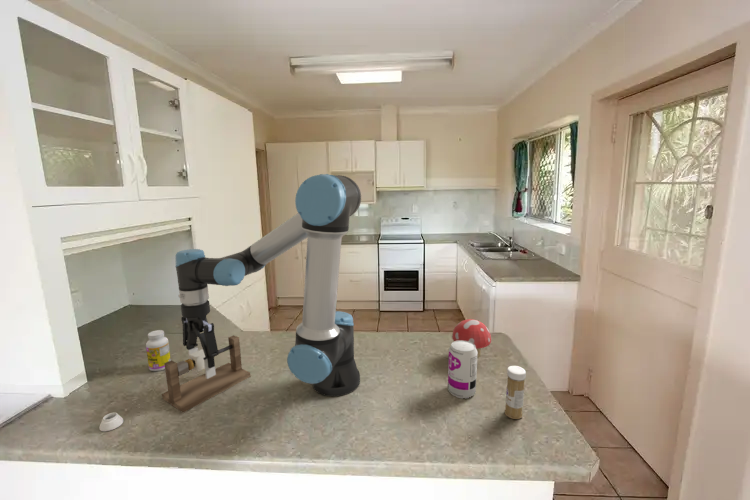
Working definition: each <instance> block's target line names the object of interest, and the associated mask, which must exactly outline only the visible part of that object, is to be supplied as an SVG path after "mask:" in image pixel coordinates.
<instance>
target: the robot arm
mask: <svg viewBox="0 0 750 500" xmlns="http://www.w3.org/2000/svg"><path fill="white" fill-rule="evenodd" d="M361 193H362V192H361V189H360V187H359V185H358V184H357V183H356V181H354V180H353V179H352V178H350V177H348V176H346V175H336V174H329V173H324V174H323V173H321V174H316V175H312V176H309V177H307V178H306V179H305V180H303V182H302V183H301V184H300V185H299V187H298V189H297V192H296V193H295V200H294V201H295V209H296V212H297V213H296V214H294V215H293V216H292V217H290V218H288V219H287V220H286V221H283V222H282V223H281V224H280V225H278V226H277V227H275V228H274V229H273V230H271V231H269V232H267V234H266V235H264V236H262V237H261V238H260V239H258V240H257V241H256V242H254V243H252V244H251V245H250V246H248V247H247V248H245V249H243V250H241V251H238V252H236V253H232V254H229V255H226V256H222V257H219V258H218V257H216V258H215V257H214V258H213V257H206V255H205V251H204V250H203V249H200V248H199V249H198V248H192V249H184V250H179V251H177V252H176V253H175V257H174V258H175V269H176V276H177V277H176V278H177V284H178V292H179V294H178V298H179V299H180V303H181V305H180V310H181V317H180V318H181V324H182V346H184V347H185V348H186V349H187V354H188V359H190V357H189V354H191V353H194V352H196V351H199V347H198V346H199V345H198V343H197V342H198V339H199V342H200V345H201V349H203V351H204V354H205V358H203V359H204V365H205V368H204V374H206V378H207V379H208V378H210V377H212V376H214V375H216V372H215V369H216V365H215V357H217V356H219V353H218V350H219V349H218V343H217V339H216V334H215V324H214V323H213V322H211V323H210V322H208V321H209V320H208V319H207V315H208V314H210V312H211V305H210V300H209V299H210V297H209V296H210V295H209V286H208V285H214V286H215V285H216V286H223V287H224V286H225V287H231V286H238V285H240V284H241V283H242V281H243V280H244V278H245V277H246V276H249V275H251V274H253V273H254V274H255V273H257V272H259V271H261V270H262V269H264V268H265V267H266V265H267V264H269V263H271V262H272V261H273V260H276V259H277V258H278V257H280V256H281V255H283V254H284V253H287V251H288V250H291V249H292V248H294V247H295V246H297V245H298V244H301V242H303V241H304V240H306V239H307V240H306V257H305V275H304V289H303V291H304V292H303V302H302V303H303V306H302V319H301V322H300V323H299V324H298V325H297V326H296V328H295V341H294V346H293V347H291V348H290V350H289V351H288V354H287V357H286V361H287V366H288V369H289V370H290V372H291V374H292V375H294V376H295V378H296V379H298V380H299V381H301V382H303V383H305V384H311V385H312V388H313V389H314V391H315V392H317V393H318V394H321V395H323V396H327V397H338V396H339V397H340V396H345V395H347V394H350V393H352V392H354V391H355V390H357V389H358V387H359V386H360V384H361V375H360V371H359V369H358V367H357V363H356V360H355V339H354V338H355V337H354V335H355V332H354V331H355V330H354V326H355V323H354V318H353V315H352V314H351V313H348V312H345V311H341V310H337V300H338V287H339V276H340V275H339V274H340V263H341V249H342V238H343V237H344V236H345V235H346V234H347V233H349V228H350V217H352V216H354V214H355V213H356V212H357V211H358V209H359V208H360V206H361V202H362V194H361ZM191 371H195V370H194V369H192V370H191Z"/></svg>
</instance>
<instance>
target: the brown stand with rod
mask: <svg viewBox="0 0 750 500" xmlns="http://www.w3.org/2000/svg"><path fill="white" fill-rule="evenodd" d="M226 351H229V358H230V362H227V363H225V364H223V365H221V366H219V367H217V368H216V367H215V372H216V375H214V376H212V377H210V378H208V379H207V378H206V374H205V373H204V374H203V373H202V375H199V376H197V377H195V378H193V379H190V380H189V381H186V382H185V383H182V384H180V377H181V376H183V375H185V374H187V373H189V372H190V371H193V370H192V369H193V368H194V365H195V360H194V361H192V360H191V359H189V358H188V359H185V360H181V361H178V362H176V361H174V360H172V359H171V361H169V362H166V363H164V364H165V369H164V371H165V378H166V384H167V385H166V387H167V391H165V392H163V393H161V399H162V400H164V401H165V402H167V403H168V404H170V405H171V406H172V407H174V408H175V409H177V410H178V411H180V412H181V413H183V414H184V413H186V412H188V411H190V410H191V409H193V408H195V407H197V406H199V405H200V404H203V403H205V402H206V401H208V400H210V399H212V398H214V397H215V395H216V396H217V395H219V394H221V393H223V392H225V391H227V390H228V389H231V388H232V387H234V386H236V385H238V384H241V383H242V382H243V381H245V380H248V379H250V378H251V376H252V375H251V372H250V371H247V370H245V369H243V366H242V354H241V344H240V337H239V336H237V335H231V336H228V345H227V346H225V347H222V348H221V349H218V353H219V354H220V355H221V354H222V353H225V352H226Z"/></svg>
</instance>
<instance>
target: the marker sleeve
mask: <svg viewBox="0 0 750 500" xmlns="http://www.w3.org/2000/svg"><path fill="white" fill-rule="evenodd" d="M189 357H190V359H191V360H192V361H194V360H195V365H194V368H193V369H194V370H193V371H196V372H200V371H202V370H205V365H204V359H203V358H205V354H204V351H203V348H200V349H198V351H196V352H194V353H191V354H189V355H188V358H189Z"/></svg>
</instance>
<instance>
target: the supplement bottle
mask: <svg viewBox="0 0 750 500" xmlns="http://www.w3.org/2000/svg"><path fill="white" fill-rule="evenodd" d="M147 338H148V340H147V341H146V343H145V348H146V355H147V363H148V364H147V365H148V369H149V371H151V372H160V371H165V364H164V363H166V362H169V361H171V360H172V359H171V352H170V344H169V343H170V342H169V339H168V338H167V336H165V331H164V329H163V330H162V329H158V330H157V329H156V330H152V331H150V332H148V334H147Z"/></svg>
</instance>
